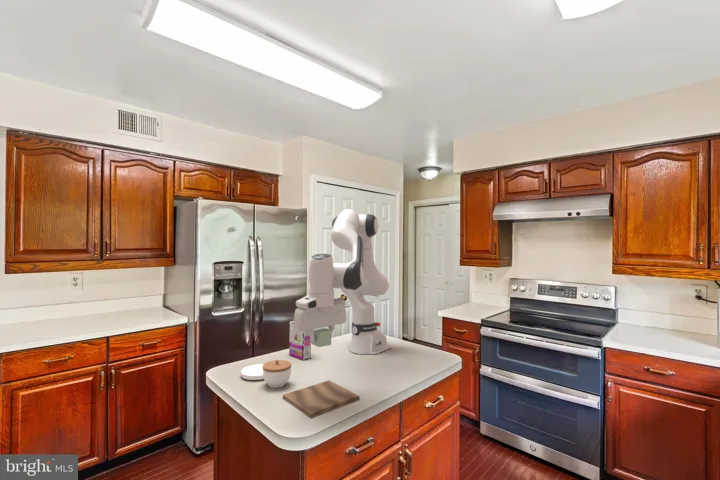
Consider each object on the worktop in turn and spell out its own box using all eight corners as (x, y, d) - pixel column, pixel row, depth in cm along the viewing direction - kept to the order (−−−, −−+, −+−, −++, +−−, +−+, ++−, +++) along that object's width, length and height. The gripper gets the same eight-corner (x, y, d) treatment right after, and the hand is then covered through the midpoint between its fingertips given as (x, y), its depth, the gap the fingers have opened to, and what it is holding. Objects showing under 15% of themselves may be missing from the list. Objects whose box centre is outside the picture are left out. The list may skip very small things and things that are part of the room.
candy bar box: (311, 358, 165) (311, 323, 165) (303, 360, 161) (303, 325, 161) (297, 353, 173) (297, 319, 173) (288, 355, 169) (288, 321, 169)
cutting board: (329, 383, 135) (329, 380, 135) (359, 399, 122) (359, 395, 122) (282, 398, 122) (282, 394, 122) (310, 417, 108) (310, 413, 108)
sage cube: (323, 341, 126) (323, 327, 126) (331, 344, 122) (331, 330, 122) (311, 344, 122) (311, 329, 122) (319, 347, 119) (319, 332, 119)
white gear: (256, 385, 134) (256, 378, 134) (233, 377, 141) (233, 371, 142) (283, 373, 146) (283, 367, 146) (260, 367, 153) (260, 361, 153)
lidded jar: (288, 377, 141) (289, 354, 141) (293, 388, 131) (293, 363, 131) (261, 381, 137) (261, 357, 137) (263, 392, 127) (263, 366, 127)
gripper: (339, 296, 131) (339, 333, 131) (291, 302, 118) (291, 343, 118) (350, 298, 127) (349, 336, 126) (301, 304, 113) (301, 347, 113)
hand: (321, 339), depth 122 cm, fingers closed on sage cube, 5 cm apart
